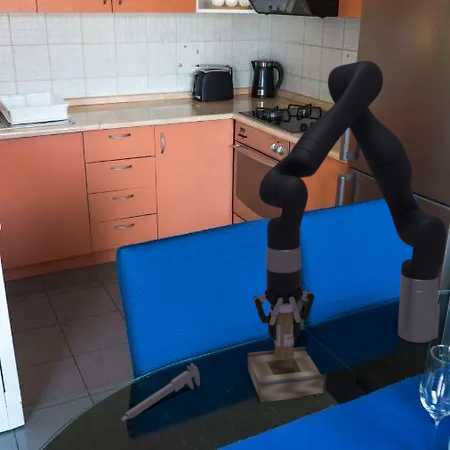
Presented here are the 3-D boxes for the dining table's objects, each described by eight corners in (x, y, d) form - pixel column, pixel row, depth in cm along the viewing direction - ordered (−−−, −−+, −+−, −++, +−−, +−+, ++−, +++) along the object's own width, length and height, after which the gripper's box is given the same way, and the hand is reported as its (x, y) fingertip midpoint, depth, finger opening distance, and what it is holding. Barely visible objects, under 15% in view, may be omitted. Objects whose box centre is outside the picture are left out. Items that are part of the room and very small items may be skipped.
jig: (304, 363, 144) (304, 346, 142) (323, 394, 130) (323, 376, 129) (248, 370, 142) (247, 353, 140) (261, 402, 128) (260, 383, 127)
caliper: (197, 384, 137) (196, 360, 135) (200, 386, 136) (199, 362, 134) (120, 420, 124) (118, 394, 122) (123, 423, 123) (121, 396, 121)
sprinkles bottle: (294, 361, 132) (294, 305, 128) (273, 360, 132) (273, 305, 129) (294, 351, 136) (294, 297, 133) (274, 350, 137) (273, 296, 133)
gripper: (310, 257, 133) (309, 326, 138) (247, 262, 131) (249, 333, 135) (320, 268, 126) (319, 341, 130) (255, 274, 124) (256, 348, 128)
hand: (283, 336), depth 133 cm, fingers closed on sprinkles bottle, 4 cm apart
